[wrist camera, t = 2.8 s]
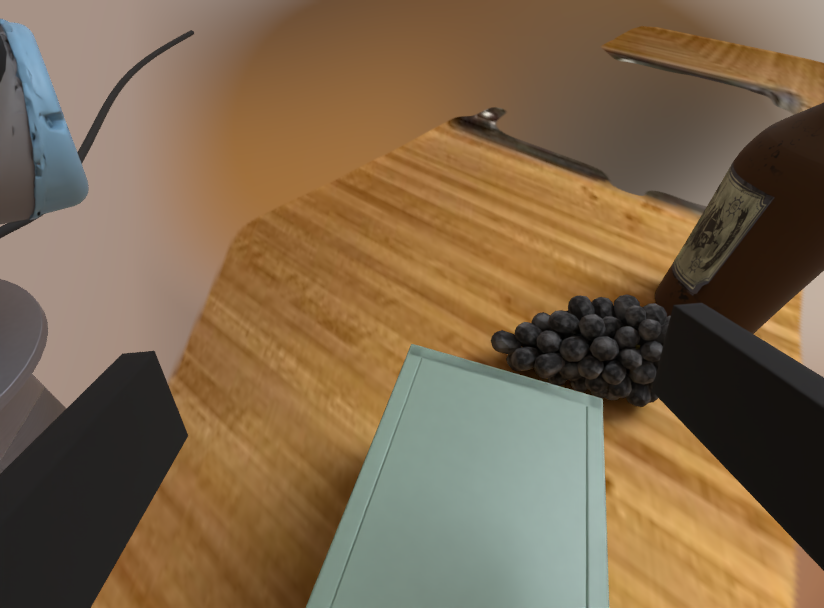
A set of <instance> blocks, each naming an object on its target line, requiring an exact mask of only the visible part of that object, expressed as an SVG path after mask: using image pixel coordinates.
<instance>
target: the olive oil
mask: <svg viewBox="0 0 824 608" xmlns="http://www.w3.org/2000/svg"><path fill="white" fill-rule="evenodd" d="M823 271H824V103H822V104H819V105H817V106H815V107H812V108H810V109H807V110H805V111H802V112H800V113H798V114H795V115H793V116H790V117H788V118H786V119H783V120H781V121H779V122H777V123H775V124H773V125H771V126H769V127H768V128H767V129H765V130H764V131H762V132H761V133H760V134H759V135H758V136H756V137H755V138H754V139H753V140H752V141H751V142H750V143H749V144H748V145H747V146H746V147H745V148H744V149H743V150H742V151H741V152H740V153H739V155H738V156H737V157H736V159H735V160H734V162H733V163H732V165H731V167H730V168H729V170H728V172H727V173H726V175H725V177H724V179H723V180H722V182H721V184H720V185H719V187H718V189H717V190H716V192H715V194H714V196H713V197H712V199H711V201H710V202H709V204H708V206H707V207H706V209H705V211H704V213H703V214H702V216H701V218H700V219H699V221H698V223H697V224H696V226H695V228H694V229H693V231H692V233H691V234H690V236H689V238H688V239H687V241H686V243H685V244H684V246H683V247H682V249H681V251H680V252H679V254H678V256H677V257H676V259H675V260H674V262H673V264H672V266H671V267H670V269H669V270H668V272H667V273H666V275H665V277H664V278H663V280H662V281H661V283H660V285H659V286H658V288H657V290H656V293H655V299H656V303H657V305H659V306H661V307H663V308H664V309H665V311H666V313H667V317H668V316H671V313H672V309H673V305H682V304H693V303H703V304H705V305H706V306H708V307H710V308H711V309H713V310H715V311H716V312H718V313H719V314H721V315H723V316H724V317H726V318H728V319H729V320H731V321H732V322H734V323H736V324H737V325H739V326H741V327H742V328H744V329H745V330H747V331H749V332H750V333H752V334H754V333H755V332H756V331H757V330H758V329H759V328H760V327H761V326H762V325H763V324H764V323H766V322H767V321H768V320H769V319H770V318H771V317H772V316H773V315H774V314H775V313H776V312H778V311H779V310H780V309H781V308H782V307H783V306H784V305H785V304H786V303H787V302H789V301H790V300H791V299H792V298H793V297H794V296H795V295H796V294H798V293H799V292H800V291H801V290H802V289H803V288H804V287H806V286H807V285H808V284H809V283H810V282H811V281H812V280H814V279H815V278H816V277H817V276H818V275H819V274H820V273H821V272H823Z"/></svg>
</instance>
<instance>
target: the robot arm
mask: <svg viewBox="0 0 824 608" xmlns="http://www.w3.org/2000/svg"><path fill="white" fill-rule="evenodd" d="M193 34H194V32H193V31H192V30H191V31H189V32H187V33H186V34H183V35H181V36H180V37H178V38H176V39H174V40H173V41H171V42H169V43H167V44H165V45H164V46H162V47H160V48H159V49H157V50H156V51H154V52H153V53H151V54H150V55H148V56H147V57H145V58H144V59H143V60H141V61H140V62H139V63H137V64H136V65H135V66H134V67H133V68H132V69H131V70H129V71H128V72H127V74H125V76H124V77H123V78H122V79H121V80H120V81H119V82H118V83H117V85H116V86H115V88H114V89H113V90H112V92H111V93H110V95H109V96H108V98H107V99H106V101H105V103H104V104H103V106H102V108H101V110H100V111H99V113H98V115H97V117H96V119H95V121H94V123H93V125H92V127H91V129H90V130H89V132H88V134H87V136H86V138H85V140H84V142H83V144H82V145H81V147H80V149H79V151H78V152H77V151H76V148H75V145H74V142H73V140H72V137H71V135H70V132H69V129H68V127H67V124H66V121H65V119H64V115H63V113H62V110H61V107H60V105H59V102H58V99H57V96H56V94H55V91H54V88H53V85H52V82H51V80H50V77H49V75H48V72H47V69H46V67H45V64H44V61H43V59H42V56H41V53H40V51H39V48H38V45H37V43H36V40H35V38H34V35H33V34H32V32H31V31H30V30H29V29H28V28H27V27H25V26H24V25H22V24H18V23H10V22H8V21H6V20H3V19H0V224H5V223H7V224H5V225H3V226H1V227H0V238H2V237H4V236H5V235H7V234H9V233H11V232H13V231H15V230H17V229H19V228H21V227H23V226H25V225H27V224H29V223H31V222H32V221H34V220H36V219H37V218H39V217H41V216H42V215H43V214H45V213H49V212H53V211H57V210H60V209H64V208H68V207H72V206H75V205H77V204H79V203H81V202H82V201H83V200H84V199H85V198H86V196H87V194H88V181H87V178H86V175H85V172H84V170H83V167H82V162H83V160H84V159H85V157H86V155H87V153H88V151H89V149H90V147H91V145H92V144H93V142H94V139H95V137H96V135H97V133H98V131H99V129H100V127H101V125H102V123H103V121H104V119H105V117H106V115H107V113H108V111H109V109H110V107H111V105H112V103H113V102H114V100H115V98H116V97H117V96H118V94H119V92H120V91H121V90H122V88H123V87H124V86H125V84H126V83H127V82H128V81H129V80H130V79H131V78H132V76H133V75H134V74H135V73H137V71H139V70H140V69H141V68H142V67H143V66H144V65H146V64H147V63H148V62H150V61H151V60H152V59H154V58H155V57H157V56H158V55H159V54H161V53H163V52H164V51H166V50H167V49H169V48H171V47H172V46H174V45H176V44H178V43H179V42H181V41H183V40H185V39H186V38H188V37H190V36H191V35H193ZM652 391H653V392H654V393H655V394H656V395H657V397H658V398H659V399H660V400H661V401H662V402H663V403H664V404H665V405H666V406H667V407H668V408H669V409H670V410H671V411H672V412H673V413H674V414H675V415H676V416H677V417H678V419H679V420H680V421H681V422H682V423H683V424H684V425H685V426H686V427H687V428H688V429H689V430H690V431H691V432H692V433H693V434H694V435H695V436H696V437H697V438H698V439H699V441H700V442H701V443H702V444H703V445H704V446H705V447H706V448H707V449H708V450H709V451H710V452H711V453H712V454H713V455H714V456H715V457H716V458H717V459H718V460H719V461H720V463H721V464H722V465H723V466H724V467H725V468H726V469H727V470H728V471H729V472H730V473H731V474H732V475H733V476H734V477H735V478H736V479H737V480H738V481H739V482H740V483H741V485H742V486H743V487H744V488H745V489H746V490H747V491H748V492H749V493H750V494H751V495H752V496H753V497H754V498H755V499H756V500H757V501H758V502H759V503H760V504H761V505H762V507H763V508H764V509H765V510H766V511H767V512H768V513H769V514H770V515H771V516H772V517H773V518H774V519H775V520H776V521H777V522H778V523H779V524H780V525H781V526H782V527H783V529H784V530H785V531H786V532H787V533H788V534H789V535H790V536H791V537H792V538H793V539H794V540H795V541H796V542H797V543H798V544H799V545H800V546H801V547H802V548H803V549H804V551H805V552H806V553H807V554H809V556H810V557H811V558H812V559H813V560H814V561H815V562H816V563H817V564H818V565H819V566H820V567H821V568H822V569H823V570H824V378H823V377H822V376H820V375H819V374H817V373H815V372H814V371H812V370H810V369H809V368H807V367H806V366H804V365H802V364H801V363H799V362H797V361H796V360H794V359H793V358H791V357H789V356H788V355H786V354H784V353H783V352H781V351H780V350H778V349H776V348H775V347H773V346H771V345H770V344H768V343H767V342H765V341H763V340H762V339H760V338H758V337H757V336H755V335H754V334H752V333H750V332H749V331H747V330H745V329H744V328H742V327H741V326H739V325H737V324H736V323H734V322H732V321H731V320H729V319H728V318H726V317H724V316H723V315H721V314H719V313H718V312H716V311H715V310H713V309H711V308H710V307H708V306H706V305H705V304H703V303H693V304H682V305H673V309H672V313H671V317H670V321H669V325H668V329H667V333H666V337H665V341H664V345H663V348H662V352H661V356H660V360H659V364H658V368H657V372H656V376H655V380H654V384H653V388H652ZM187 437H188V434H187V431H186V429H185V426H184V424H183V421H182V419H181V416H180V414H179V411H178V409H177V406H176V404H175V401H174V399H173V396H172V394H171V391H170V389H169V386H168V384H167V381H166V379H165V376H164V374H163V371H162V369H161V366H160V364H159V361H158V359H157V356H156V354H155V351H148V352H137V353H127V354H122V355H121V356H120V357H119V358H118V359H117V360H116V361H115V362H114V363H113V364H112V365H110V366H109V367H108V369H106V370H105V371H104V373H102V374H101V375H100V376H99V377H98V378H97V379H96V380H95V381H94V382H93V383H92V384H91V385H90V386H89V387H88V388H87V389H86V390H85V391H84V392H83V393H82V394H81V395H80V396H79V397H78V398H77V399H76V400H75V401H74V402H73V403H72V404H71V405H70V406H69V407H68V408H67V409H66V410H65V411H64V412H63V413H62V414H61V415H60V416H59V417H58V418H57V419H56V420H55V421H54V422H53V423H52V424H51V425H50V426H49V427H48V428H47V429H46V430H45V431H44V432H43V433H42V434H41V435H40V436H39V437H37V438H36V439H35V440H34V441H33V442H32V443H31V444H30V445H29V446H28V447H27V448H26V449H25V450H24V451H23V452H22V453H21V454H20V455H19V456H18V457H17V458H16V459H15V460H14V461H13V462H12V463H11V464H10V465H9V466H8V467H7V468H6V469H5V470H4V471H3V472H2V473H1V474H0V608H91V606H92V604H93V603H94V601H95V599H96V597H97V596H98V594H99V592H100V590H101V588H102V587H103V585H104V583H105V581H106V580H107V578H108V576H109V574H110V573H111V571H112V569H113V567H114V566H115V564H116V562H117V560H118V559H119V557H120V555H121V553H122V551H123V550H124V548H125V546H126V544H127V543H128V541H129V539H130V537H131V536H132V534H133V532H134V530H135V529H136V527H137V525H138V523H139V521H140V520H141V518H142V516H143V514H144V513H145V511H146V509H147V507H148V506H149V504H150V502H151V500H152V499H153V497H154V495H155V493H156V491H157V490H158V488H159V486H160V484H161V483H162V481H163V479H164V477H165V476H166V474H167V472H168V470H169V469H170V467H171V465H172V463H173V461H174V460H175V458H176V456H177V454H178V453H179V451H180V449H181V447H182V446H183V444H184V442H185V440H186V439H187Z"/></svg>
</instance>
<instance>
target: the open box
mask: <svg viewBox="0 0 824 608" xmlns="http://www.w3.org/2000/svg"><path fill="white" fill-rule="evenodd" d="M306 608H609V585H608V555H607V524H606V494H605V463H604V433H603V399H602V398H598V397H595V396H591V395H588V394H585V393H581V392H578V391H574V390H571V389H567V388H564V387H560V386H557V385H553V384H550V383H546V382H543V381H539V380H536V379H532V378H529V377H526V376H522V375H519V374H515V373H512V372H508V371H505V370H501V369H498V368H494V367H491V366H487V365H484V364H480V363H477V362H473V361H470V360H466V359H463V358H459V357H456V356H452V355H449V354H445V353H442V352H439V351H435V350H432V349H428V348H424V347H421V346H417V345H414V344H411V346H410V349H409V351H408V354H407V356H406V359H405V361H404V364H403V366H402V369H401V371H400V374H399V376H398V379H397V381H396V384H395V386H394V389H393V391H392V394H391V396H390V399H389V401H388V404H387V406H386V409H385V411H384V414H383V416H382V419H381V421H380V424H379V426H378V429H377V431H376V434H375V436H374V439H373V441H372V443H371V446H370V448H369V451H368V453H367V456H366V458H365V461H364V463H363V466H362V468H361V471H360V473H359V476H358V478H357V481H356V483H355V486H354V488H353V491H352V493H351V496H350V498H349V501H348V503H347V506H346V508H345V511H344V513H343V516H342V518H341V521H340V523H339V526H338V528H337V531H336V533H335V536H334V538H333V541H332V543H331V546H330V548H329V551H328V553H327V556H326V558H325V561H324V563H323V565H322V568H321V570H320V573H319V575H318V578H317V580H316V583H315V585H314V588H313V590H312V593H311V595H310V598H309V600H308V603H307V605H306Z"/></svg>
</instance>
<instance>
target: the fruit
mask: <svg viewBox="0 0 824 608" xmlns="http://www.w3.org/2000/svg"><path fill="white" fill-rule="evenodd" d="M670 317H671V316H668V317H667V313H666V311H665V309H664V308H663V307H661V306H659V305H657V304H655V303H654V304H648V305H646V306H644V307H640V302H639V301H638V300H637V299H636V298H635V297H633V296H630V295H623V296H619V297H618V298H617V299H616V300H615V302H614V306H613V303H612V302H611V301H610V300H609V299H608V298H603V297H599V298H596V299H594V300H593V301H592V302H591V301H590V300H589V299H588V298H587V297H586V296H575V297H573V298H571V300H570V301H569V305H568V311H563V310H561V311H555V312H554V313H552V314H551V315H548V314H546V313H544V312H543V313H538V314H537V315H536V316H534V318H533V320H532V323H528V322H523V323H521V324H520V325H518V326H517V328H516V330H515V335H514V334H512V333H509V332H506V331H503V330H501V331H498V332H496V333H494V335H493V336H492V339H491V343H492V346H493V348H494V349H495V350H496V351H498V352H501V353H505V354H508V356H507V358H506V360H507V363H508V365H509V366H510V367H511V368H512V369H513V370H515V371H522V370H529V369H532V368H534V369H535V372H536V374H537V375H538V376H540V377H541V378H543V379H545V378H548V381H549V383H551V384H553V385H557V386H559V385H564V383H565V382H566V380H569V381H570V382H571V386H572V387H573V389H575V390H576V391H579V392H585V391H586V390H587V389H588V390H590V391H591V393H592V394H593V395H594V396H595V397H598V398H606V399H608V400H617V399H619V398H625V397H626V400H627V401H628V402H629V403H631V404H632V405H634V406H639V407H643V406H645V405H646V404H647V403H650V402H654V401H655V400H657V399H658V397H657V395H656V394H655V393H654V392H653V391H652V388H653V384H654V380H655V376H656V372H657V368H658V364H659V360H660V356H661V352H662V348H663V345H664V341H665V337H666V333H667V329H668V325H669V321H670ZM521 346H522V347H521Z"/></svg>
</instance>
